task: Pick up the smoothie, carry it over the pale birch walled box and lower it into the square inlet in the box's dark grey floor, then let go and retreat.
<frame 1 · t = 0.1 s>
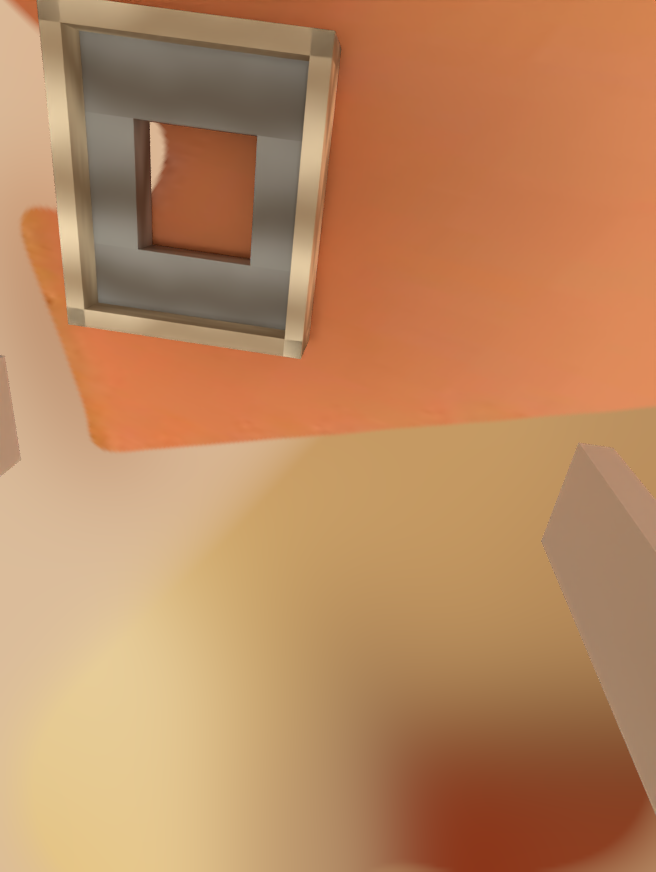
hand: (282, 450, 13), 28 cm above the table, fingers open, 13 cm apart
socket box: (206, 193, 36), on the table
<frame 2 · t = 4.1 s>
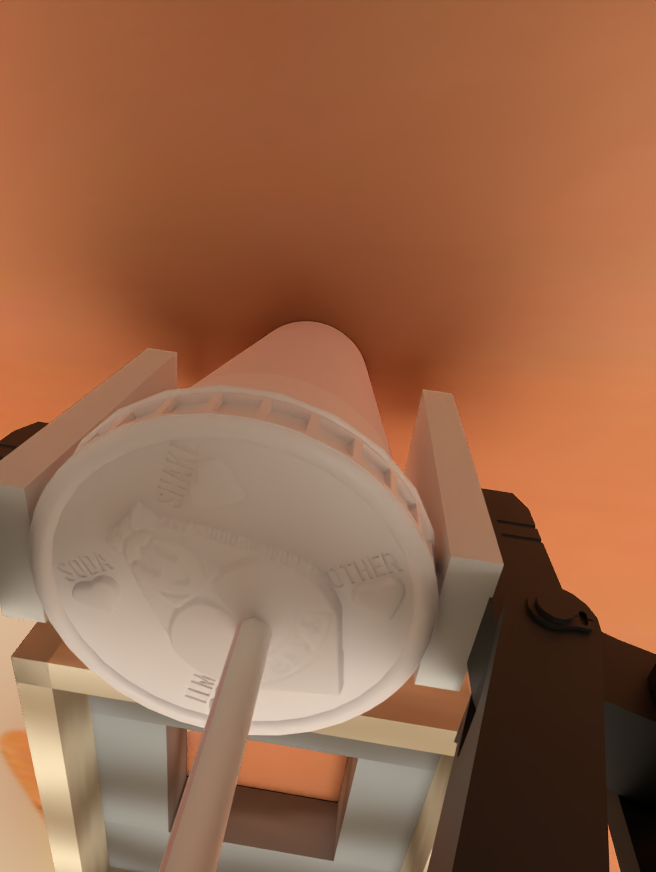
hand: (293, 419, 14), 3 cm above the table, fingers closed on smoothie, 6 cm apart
socket box: (267, 741, 25), on the table
smoothie: (308, 377, 17), on the table, touching gripper
when the fingers open (4 cm above the table, at t = 9.4 s): smoothie drops 1 cm, resting in socket box.
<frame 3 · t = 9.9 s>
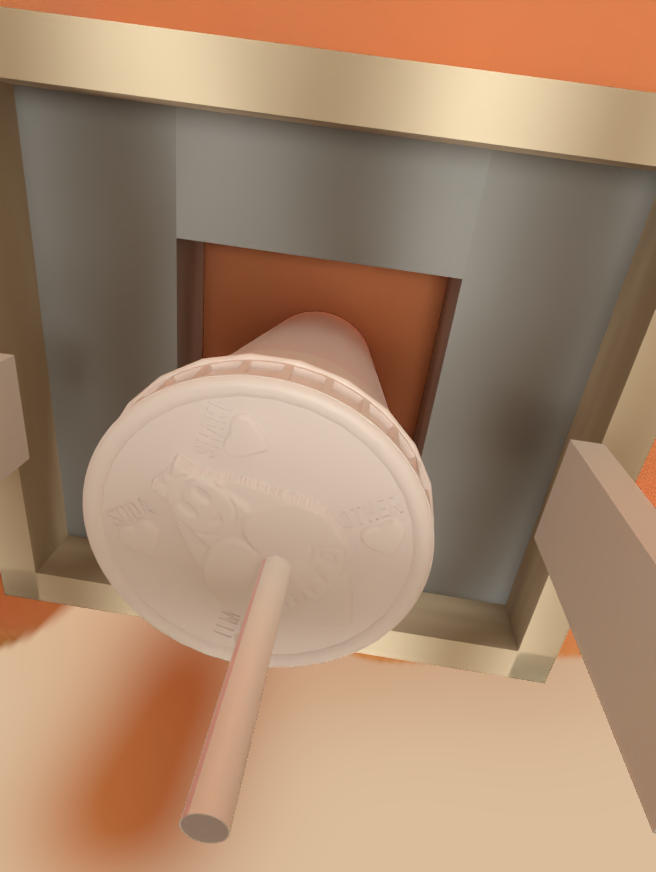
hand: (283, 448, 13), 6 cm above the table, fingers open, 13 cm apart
socket box: (313, 364, 18), on the table
smoothie: (317, 364, 18), resting in socket box
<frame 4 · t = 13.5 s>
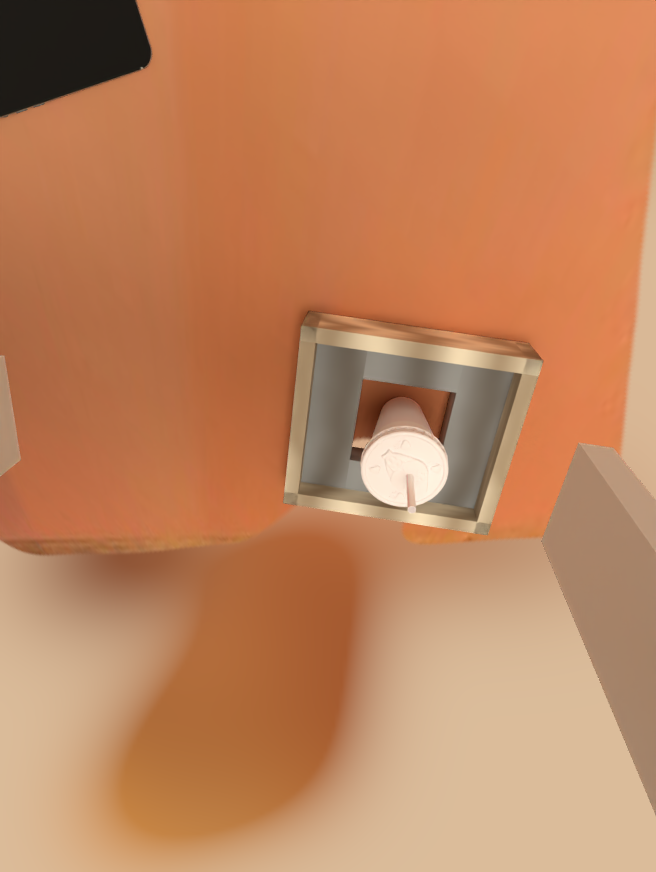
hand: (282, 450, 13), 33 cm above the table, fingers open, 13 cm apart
socket box: (400, 415, 47), on the table
smartphone: (44, 39, 38), on the table
smoothie: (401, 415, 48), resting in socket box
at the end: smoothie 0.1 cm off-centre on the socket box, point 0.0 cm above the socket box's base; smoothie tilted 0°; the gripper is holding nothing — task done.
